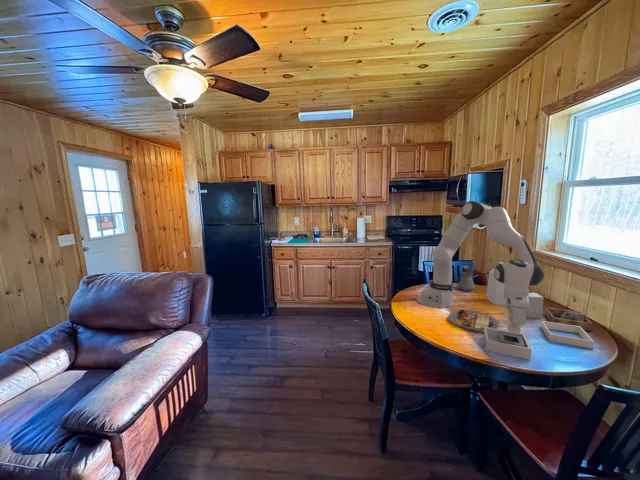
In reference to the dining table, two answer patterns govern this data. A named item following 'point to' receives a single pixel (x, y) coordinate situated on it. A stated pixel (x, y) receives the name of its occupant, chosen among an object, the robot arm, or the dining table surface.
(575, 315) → the mineral specimen
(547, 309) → the stand rim
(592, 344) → the open square frame
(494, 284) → the milk
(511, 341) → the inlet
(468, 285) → the coffee pot
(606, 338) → the dining table surface
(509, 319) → the connector
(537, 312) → the supplement box
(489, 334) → the walled box
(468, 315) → the food plate
